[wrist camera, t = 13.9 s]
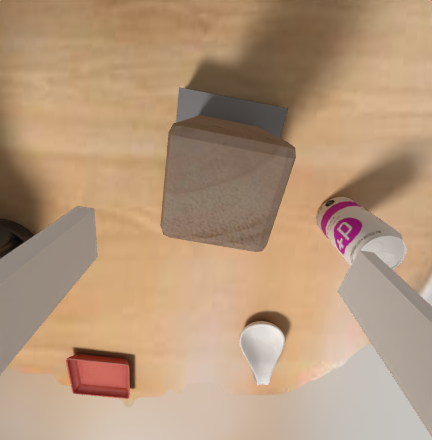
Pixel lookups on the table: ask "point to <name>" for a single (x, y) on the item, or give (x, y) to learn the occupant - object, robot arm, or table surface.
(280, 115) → the charcoal base block
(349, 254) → the supplement can
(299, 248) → the table surface
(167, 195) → the wooden block
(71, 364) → the plant saucer
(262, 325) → the spoon rest
